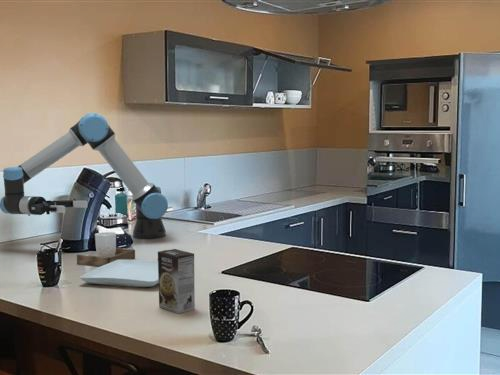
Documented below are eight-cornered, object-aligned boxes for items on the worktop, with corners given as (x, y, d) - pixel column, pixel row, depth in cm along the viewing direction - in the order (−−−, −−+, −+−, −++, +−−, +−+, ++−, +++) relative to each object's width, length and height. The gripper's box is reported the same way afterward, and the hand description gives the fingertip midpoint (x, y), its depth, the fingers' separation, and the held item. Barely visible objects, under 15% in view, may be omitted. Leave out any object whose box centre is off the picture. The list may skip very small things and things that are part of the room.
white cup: (119, 257, 231) (118, 231, 230) (112, 262, 223) (112, 235, 222) (100, 257, 232) (99, 231, 231) (92, 261, 224) (91, 235, 223)
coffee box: (158, 307, 169) (156, 251, 168) (176, 302, 174) (174, 248, 172) (177, 314, 163) (176, 256, 161) (196, 309, 167) (194, 252, 166)
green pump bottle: (126, 226, 308) (125, 187, 306) (114, 226, 308) (112, 187, 306) (129, 224, 314) (128, 186, 312) (117, 224, 315) (115, 186, 312)
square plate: (187, 271, 212) (187, 261, 211) (155, 292, 186) (154, 280, 185) (118, 267, 219) (118, 257, 219) (78, 287, 193) (77, 275, 192)
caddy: (77, 264, 223) (76, 255, 223) (103, 255, 238) (103, 246, 238) (109, 267, 217) (109, 258, 217) (135, 258, 232) (134, 249, 232)
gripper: (55, 210, 255) (95, 211, 247) (11, 219, 233) (54, 221, 224) (54, 192, 255) (94, 193, 246) (10, 200, 232) (53, 201, 224)
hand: (75, 206), depth 235 cm, fingers open, 13 cm apart
